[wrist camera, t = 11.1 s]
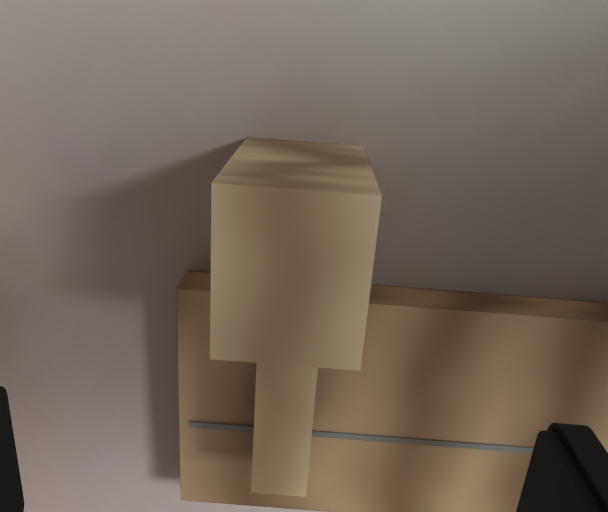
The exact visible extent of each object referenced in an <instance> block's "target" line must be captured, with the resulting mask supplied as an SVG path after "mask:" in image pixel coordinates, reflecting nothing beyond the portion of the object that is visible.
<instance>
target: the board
mask: <svg viewBox="0 0 608 512" xmlns="http://www.w3.org/2000/svg"><path fill="white" fill-rule="evenodd" d="M210 307H211V273H205V272H192V271H187V272H186V274H185V276H184V277H183V279H182V281H181V283H180V284H179V286H178V288H177V333H178V386H179V438H180V491H181V500H186V501H198V502H211V503H224V504H237V505H250V506H263V507H276V508H289V509H302V510H314V511H327V512H516V510H517V506H518V503H519V499H520V496H521V492H522V488H523V485H524V481H525V478H526V474H527V470H528V467H529V463H530V460H531V456H532V452H533V449H534V445H535V442H536V438H537V435H538V433H539V432H540V431H542V430H544V431H547V429H548V427H549V426H550V425H551V424H552V423H564V424H576V425H586V426H588V427H590V428H591V429H592V431H593V432H594V433H595V435H596V436H597V438H598V439H599V441H600V442H601V444H602V445H603V447H604V448H605V450H606V451H607V453H608V303H603V302H590V301H577V300H564V299H550V298H537V297H524V296H511V295H497V294H484V293H471V292H457V291H444V290H431V289H418V288H404V287H391V286H378V285H371V290H370V298H369V306H368V314H367V322H366V330H365V338H364V346H363V354H362V362H361V370H360V371H357V370H344V369H331V368H318V371H317V382H316V393H315V404H314V415H313V426H312V437H311V448H310V459H309V470H308V481H307V492H306V497H301V496H288V495H276V494H263V493H251V482H252V459H253V435H254V412H255V389H256V366H257V363H252V362H239V361H226V360H213V359H210Z"/></svg>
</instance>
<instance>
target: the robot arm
mask: <svg viewBox="0 0 608 512" xmlns="http://www.w3.org/2000/svg"><path fill="white" fill-rule="evenodd" d="M23 511H24V498H23V491H22V485H21V479H20V472H19V466H18V460H17V453H16V447H15V441H14V434H13V428H12V422H11V415H10V409H9V403H8V396H7V392H6V389H5V388H4V387H1V386H0V512H23ZM516 512H608V453H607V451H606V450H605V448H604V447H603V445H602V444H601V442H600V441H599V439H598V438H597V436H596V435H595V433H594V432H593V431H592V429H591V428H590V427H588V426H586V425H576V424H564V423H552V424H551V425H550V426H549V427H548V429H547V431H544V430H542V431H540V432H539V433H538V435H537V438H536V442H535V445H534V449H533V452H532V456H531V460H530V463H529V467H528V470H527V474H526V478H525V481H524V485H523V488H522V492H521V496H520V499H519V503H518V506H517V510H516Z"/></svg>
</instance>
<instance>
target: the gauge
mask: <svg viewBox="0 0 608 512" xmlns="http://www.w3.org/2000/svg"><path fill="white" fill-rule="evenodd" d="M381 201H382V194H381V191H380V188H379V186H378V183H377V180H376V178H375V175H374V172H373V170H372V167H371V164H370V162H369V159H368V156H367V154H366V151H365V149H364V146H356V145H342V144H329V143H315V142H302V141H289V140H275V139H262V138H249V137H247V138H246V139H245V140H244V141H243V143H242V144H241V145H240V147H239V148H238V149H237V150H236V152H235V153H234V154H233V156H232V157H231V158H230V159H229V161H228V162H227V163H226V165H225V166H224V167H223V168H222V170H221V171H220V172H219V174H218V175H217V176H216V177H215V179H214V180H213V181H212V183H211V307H210V359H213V360H226V361H239V362H252V363H257V366H256V389H255V412H254V435H253V459H252V482H251V493H263V494H276V495H288V496H301V497H306V492H307V481H308V470H309V459H310V448H311V437H312V426H313V415H314V404H315V393H316V382H317V371H318V368H331V369H344V370H357V371H360V370H361V362H362V354H363V346H364V338H365V330H366V322H367V314H368V306H369V298H370V290H371V282H372V274H373V266H374V258H375V250H376V242H377V234H378V226H379V217H380V209H381Z"/></svg>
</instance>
